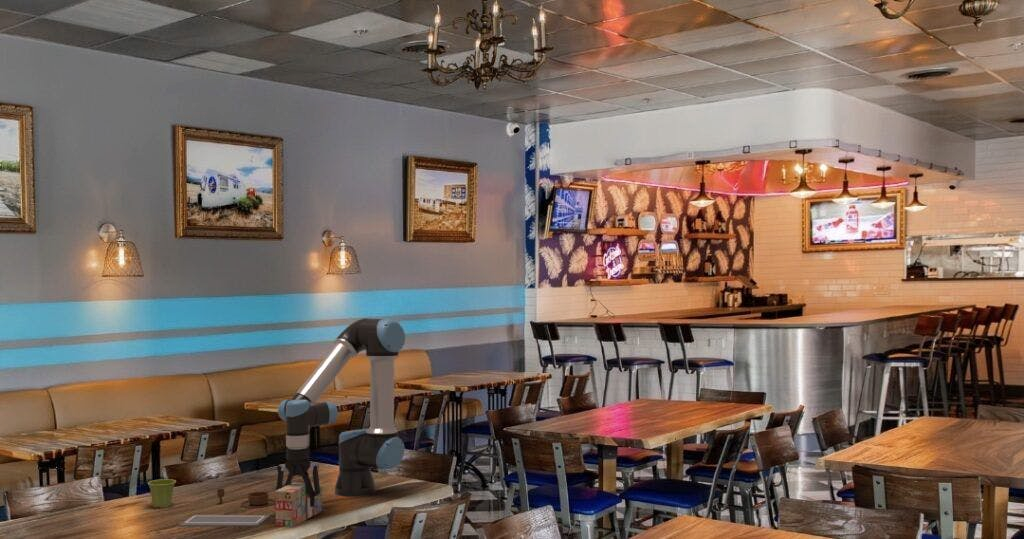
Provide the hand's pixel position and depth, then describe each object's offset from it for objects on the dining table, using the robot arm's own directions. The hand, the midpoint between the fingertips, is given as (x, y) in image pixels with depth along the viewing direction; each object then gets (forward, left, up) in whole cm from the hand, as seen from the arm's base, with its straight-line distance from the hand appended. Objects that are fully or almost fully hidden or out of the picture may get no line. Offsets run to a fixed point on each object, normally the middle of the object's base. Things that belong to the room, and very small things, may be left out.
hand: (298, 516), depth 323 cm
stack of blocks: (0, -1, -2) cm, 2 cm away
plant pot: (+55, -20, -2) cm, 58 cm away
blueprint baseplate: (+24, +2, -2) cm, 24 cm away
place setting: (+24, -23, -2) cm, 33 cm away
